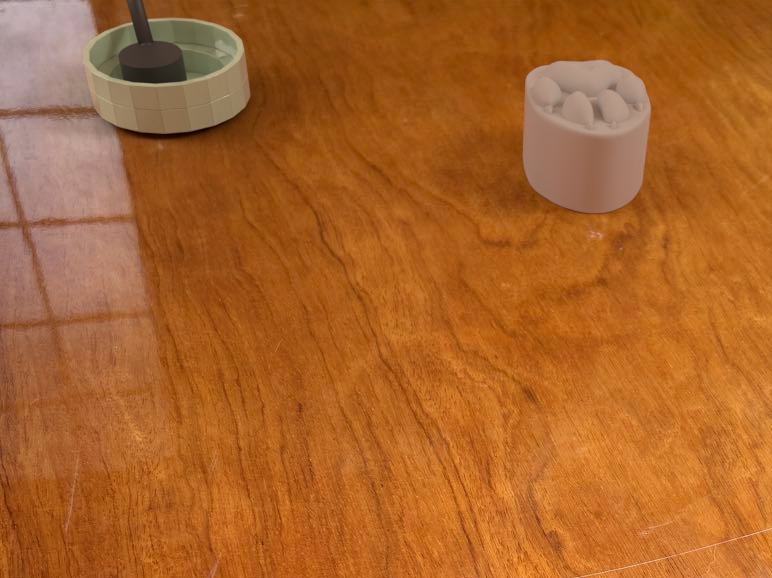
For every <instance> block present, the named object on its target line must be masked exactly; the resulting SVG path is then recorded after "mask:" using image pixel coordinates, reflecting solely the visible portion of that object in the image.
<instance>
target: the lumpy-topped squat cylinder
mask: <svg viewBox="0 0 772 578" xmlns="http://www.w3.org/2000/svg"><path fill="white" fill-rule="evenodd" d="M523 109H524V111H523V136H522V138H523V139H522V164H523V170H524V173H525V176H526V178H527V181H528V184H529V185H530V187H531V189H532V190H534V191H535V192H536V193H538V194H539V195H540V196H542V197H543V198H545V199H547V200H548V201H549V202H551V203H553V204H555V205H557V206H559V207H562V208H565V209H568V210H571V211H574V212H579V213H583V214H593V215H594V214H605V213H611V212H614V211H616V210H619V209H620V208H623V207H624V206H626V205H628V204H629V203H630V202H632V201H633V200H634V198H635V197H636V196H637V195H638V193H639V192H640V190H641V188H642V186H643V182H644V173H645V164H646V157H647V148H648V139H649V131H650V123H651V116H652V115H651V114H652V107H651V101H650V98H649V96H648V93H647V88H646V85H645V83H644V81H643V80H642V79H641V78H640V77H639V76H637V75H636V74H634V72H633V71H631V70H630V69H628V68H626V67H623V66H621V65H620V66H619V65H616V64H614V63H612V62H610V61H608V60H606V59H596V60H585V61H576V60H575V61H574V60H573V61H571V60H570V61H569V60H557V61H554V62H552V63H550V64H546V65H545V64H544V65H541V66H537V67H536V68H533V69H532V70H530V72H529V73H528V74H527V75H526V77H525V82H524V108H523Z"/></svg>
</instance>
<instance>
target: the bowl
mask: <svg viewBox="0 0 772 578" xmlns="http://www.w3.org/2000/svg"><path fill="white" fill-rule="evenodd" d="M147 19H148V23H149V26H150V30H151V34H152V38H153V41H164V42H169V43H172V44H175V45H177V46H178V47H179V48H180V49H181V50H182V54H183V60H184V65H185V71H186V76H187V81H182V82H173V83H160V84H151V83H135V82H129V81H125V80H123V76H122V71H121V67H120V62H119V58H118V55H119V52H120V51H121V50H122V49H124V48H125V47H127V46H129V45H131V44H134V43H138V41H137V38H136V34H135V30H134V26H133V23H132V21H130V22H126V23H123V24H120V25H117V26H115V27H112V28H109V29H107V30H104V31H102V32H101V33H100V34H98V35H96V36H95V37H93V38H92V39H90V40H89V42H87V44H86V46H85V47H84V49H83V50H82V64H83V68H84V73H85V76H86V80H87V86H88V89H89V92H90V93H89V94H90V97H91V101H92V105H93V109H94V110H95V111H96V113H97V114H98V115H99V116H100V117H101V118H102V119H103V120H104V121H106V122H108V123H110V124H113V125H114V126H115V127H117V128H120V129H126V130H129V131H134V132H138V133H145V134H146V133H147V134H159V135H160V134H162V135H165V134H166V135H168V134H177V133H178V134H179V133H189V132H193V131H199V130H202V129H207V128H210V127H215V126H217V125H219V124H221V123H224V122H226V121H228V120H230V119H232V118H234V117H235V116H236V115H237V114H239V113H241V112H242V110H244V109H245V108H246V106H247V104H248V103H249V100H250V98H251V96H252V95H251V87H250V79H249V74H248V65H247V59H246V53H245V51H246V50H245V47H244V43H243V39H241V38H240V37H239V36H238V35H237V34H236V33H235V32H234V31H233V30H231V29H229V28H227V27H224V26H223V25H220V24H219V23H215V22H210V21H207V20H201V19H196V18H185V17H184V18H183V17H160V18H147Z"/></svg>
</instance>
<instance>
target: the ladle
mask: <svg viewBox="0 0 772 578" xmlns="http://www.w3.org/2000/svg"><path fill="white" fill-rule="evenodd" d="M126 3H127V7H128V13H129V16H130V18H131V22H132V23H133V26H134V30H135V34H136V38H137V41H138V43H134V44H131V45H129V46H127V47H125V48H124V49H122V50H121V51H120V52H119V55H118V58H119V62H120V67H121V71H122V76H123V80H125V81H129V82H135V83H151V84H160V83H173V82H182V81H187V76H186V71H185V65H184V60H183V54H182V50H181V49H180V48H179V47H178V46H177V45H175V44H172V43H169V42H164V41H153V38H152V34H151V30H150V26H149V23H148V19H149V18H148V16H147V12H146V9H145V5H144V1H143V0H126Z"/></svg>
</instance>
